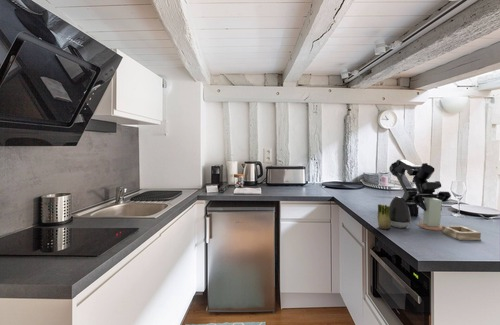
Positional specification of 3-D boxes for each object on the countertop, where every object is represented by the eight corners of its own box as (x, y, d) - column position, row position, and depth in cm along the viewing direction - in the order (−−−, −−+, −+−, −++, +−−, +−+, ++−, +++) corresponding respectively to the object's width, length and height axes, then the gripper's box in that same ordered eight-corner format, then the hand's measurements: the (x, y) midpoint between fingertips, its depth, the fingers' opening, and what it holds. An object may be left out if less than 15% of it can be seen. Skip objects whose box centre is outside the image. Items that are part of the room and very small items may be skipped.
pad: (417, 227, 115) (418, 226, 115) (419, 222, 122) (419, 220, 122) (444, 232, 108) (444, 230, 108) (444, 226, 116) (444, 224, 116)
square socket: (442, 232, 108) (442, 225, 108) (461, 231, 108) (461, 225, 108) (459, 240, 99) (459, 233, 99) (480, 239, 99) (480, 232, 99)
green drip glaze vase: (375, 226, 117) (376, 203, 117) (385, 226, 117) (386, 203, 116) (382, 230, 112) (382, 206, 111) (392, 230, 111) (393, 206, 111)
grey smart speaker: (406, 223, 121) (407, 194, 120) (413, 230, 111) (414, 199, 110) (384, 222, 124) (385, 194, 123) (389, 228, 114) (389, 198, 113)
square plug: (422, 222, 118) (424, 197, 118) (433, 223, 117) (435, 198, 117) (428, 225, 113) (430, 199, 113) (439, 226, 112) (441, 200, 112)
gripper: (407, 175, 119) (418, 201, 109) (449, 175, 116) (464, 202, 106) (400, 187, 128) (409, 213, 118) (439, 188, 124) (452, 214, 114)
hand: (433, 210), depth 113 cm, fingers open, 6 cm apart
